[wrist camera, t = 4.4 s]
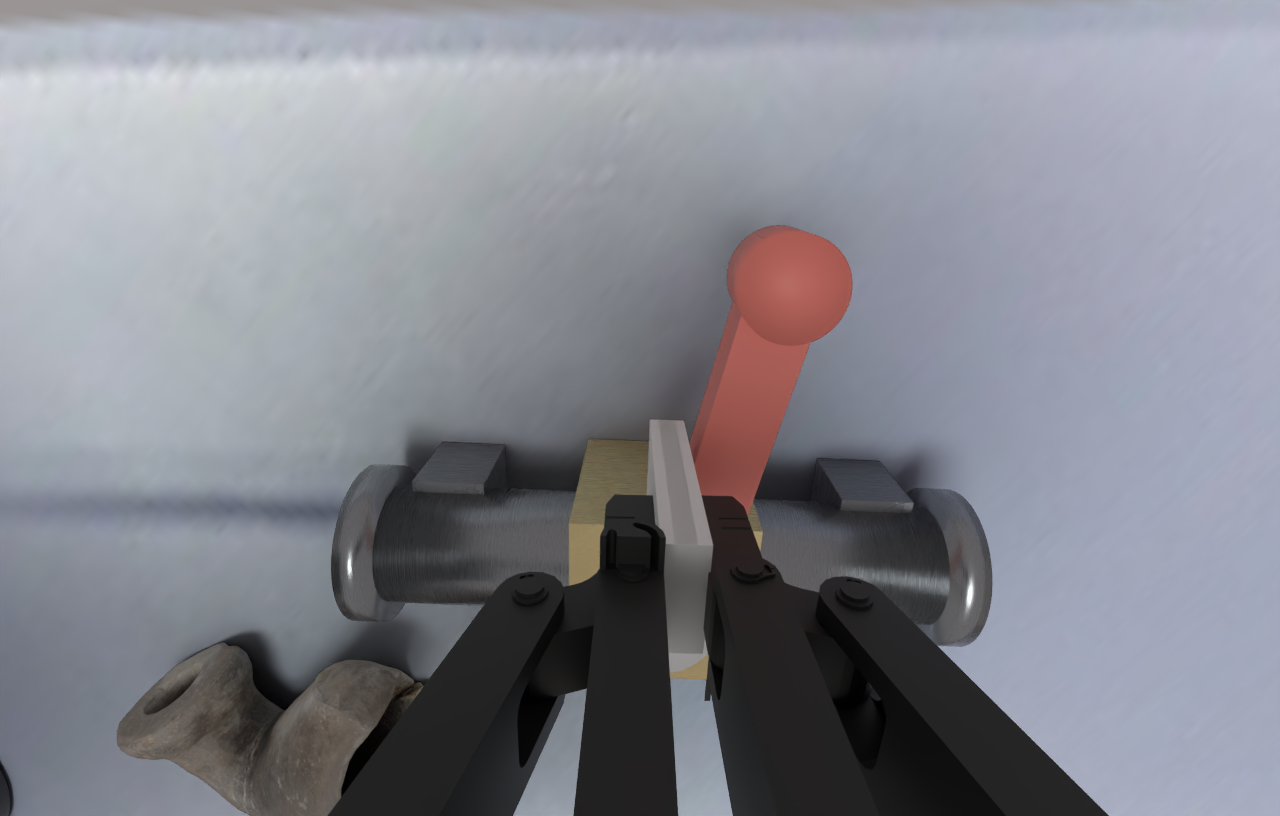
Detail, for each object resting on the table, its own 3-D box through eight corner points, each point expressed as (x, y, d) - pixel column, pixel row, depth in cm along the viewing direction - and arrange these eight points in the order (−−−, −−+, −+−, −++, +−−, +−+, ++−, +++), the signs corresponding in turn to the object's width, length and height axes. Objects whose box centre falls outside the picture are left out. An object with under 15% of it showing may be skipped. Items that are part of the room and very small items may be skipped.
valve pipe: (411, 554, 31) (342, 663, 24) (397, 430, 29) (316, 512, 22) (896, 575, 31) (968, 690, 24) (925, 453, 29) (1014, 542, 22)
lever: (697, 662, 23) (704, 735, 20) (597, 641, 23) (589, 713, 20) (850, 242, 18) (892, 255, 15) (720, 207, 17) (735, 214, 14)
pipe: (414, 656, 44) (554, 686, 35) (375, 798, 40) (518, 875, 31) (153, 622, 33) (253, 653, 23) (67, 814, 29) (146, 940, 20)
